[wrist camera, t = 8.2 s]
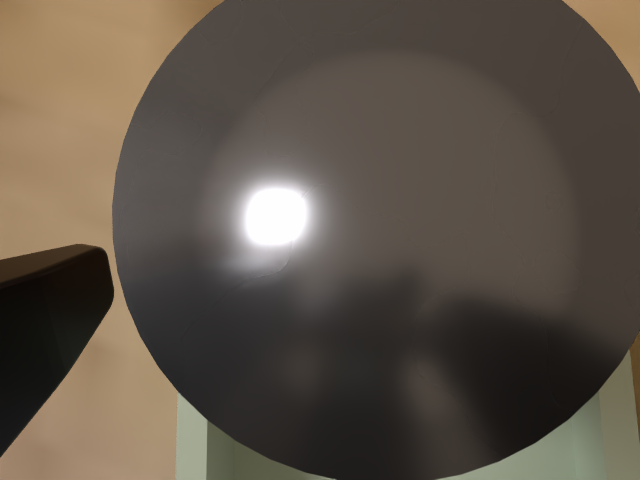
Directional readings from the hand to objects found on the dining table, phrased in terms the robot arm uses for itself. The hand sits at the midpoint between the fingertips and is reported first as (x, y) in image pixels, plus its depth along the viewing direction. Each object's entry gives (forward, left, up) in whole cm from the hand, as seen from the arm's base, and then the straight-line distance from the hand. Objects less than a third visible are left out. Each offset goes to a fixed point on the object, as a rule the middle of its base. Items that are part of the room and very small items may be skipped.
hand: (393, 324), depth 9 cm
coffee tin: (+1, 0, -9) cm, 9 cm away
